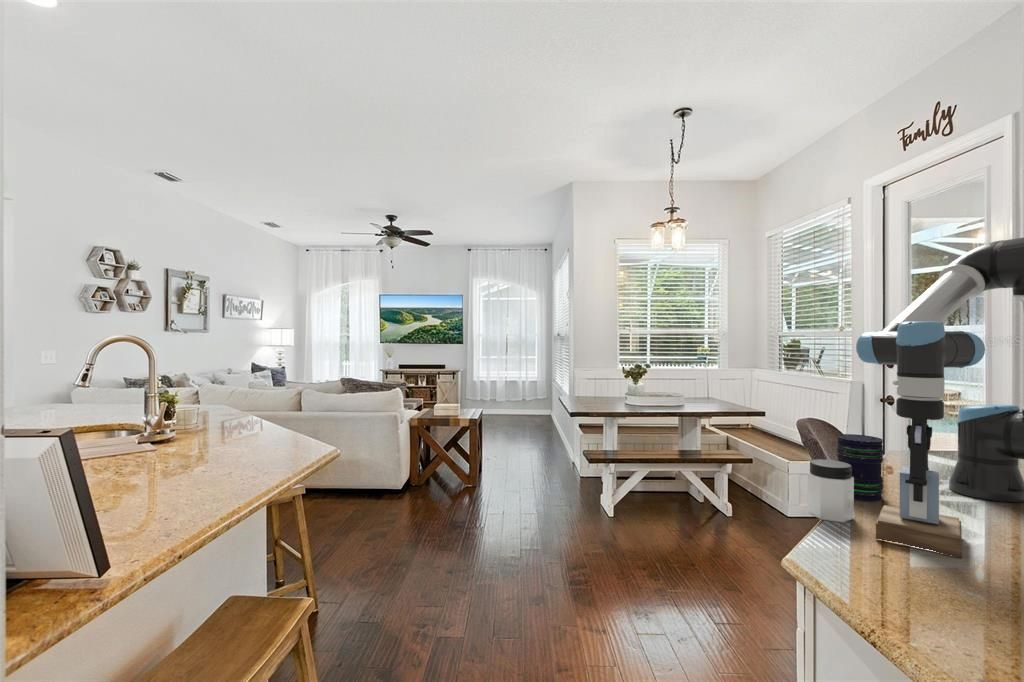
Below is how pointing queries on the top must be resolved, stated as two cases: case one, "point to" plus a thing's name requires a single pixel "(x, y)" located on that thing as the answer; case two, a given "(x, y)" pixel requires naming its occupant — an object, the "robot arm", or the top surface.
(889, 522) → the base block
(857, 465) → the dark blue upright cylinder
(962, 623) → the top surface
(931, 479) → the slate block
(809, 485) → the jar
